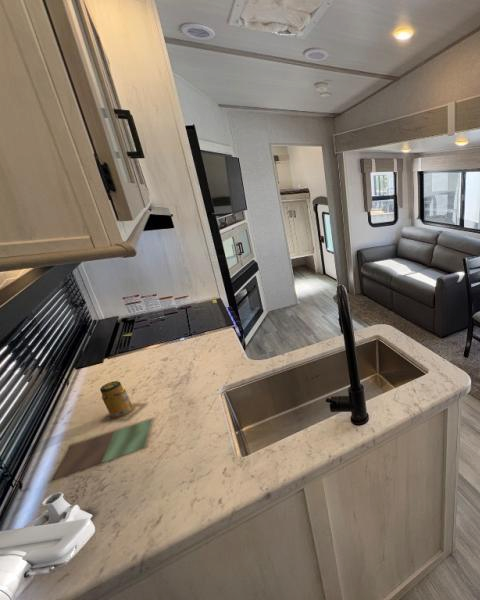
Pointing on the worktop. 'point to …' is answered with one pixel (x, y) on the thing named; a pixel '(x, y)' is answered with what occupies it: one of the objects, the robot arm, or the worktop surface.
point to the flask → (60, 508)
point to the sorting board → (104, 448)
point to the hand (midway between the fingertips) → (64, 508)
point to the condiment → (116, 399)
